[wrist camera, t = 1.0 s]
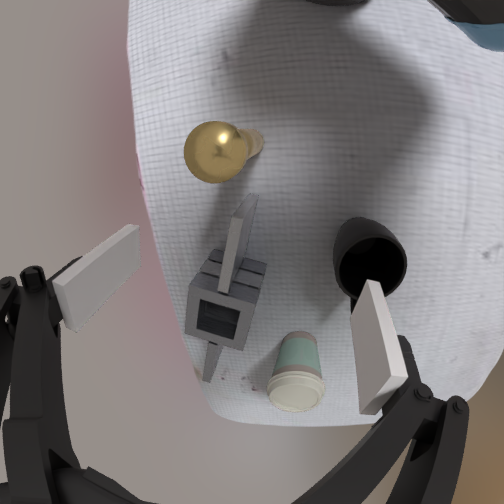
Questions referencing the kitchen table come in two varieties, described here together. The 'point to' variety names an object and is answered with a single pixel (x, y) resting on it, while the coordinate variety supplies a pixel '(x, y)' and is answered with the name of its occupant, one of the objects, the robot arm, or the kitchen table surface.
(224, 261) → the grey piece
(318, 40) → the kitchen table surface
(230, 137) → the pin
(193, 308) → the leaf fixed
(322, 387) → the coffee cup
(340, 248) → the mug
